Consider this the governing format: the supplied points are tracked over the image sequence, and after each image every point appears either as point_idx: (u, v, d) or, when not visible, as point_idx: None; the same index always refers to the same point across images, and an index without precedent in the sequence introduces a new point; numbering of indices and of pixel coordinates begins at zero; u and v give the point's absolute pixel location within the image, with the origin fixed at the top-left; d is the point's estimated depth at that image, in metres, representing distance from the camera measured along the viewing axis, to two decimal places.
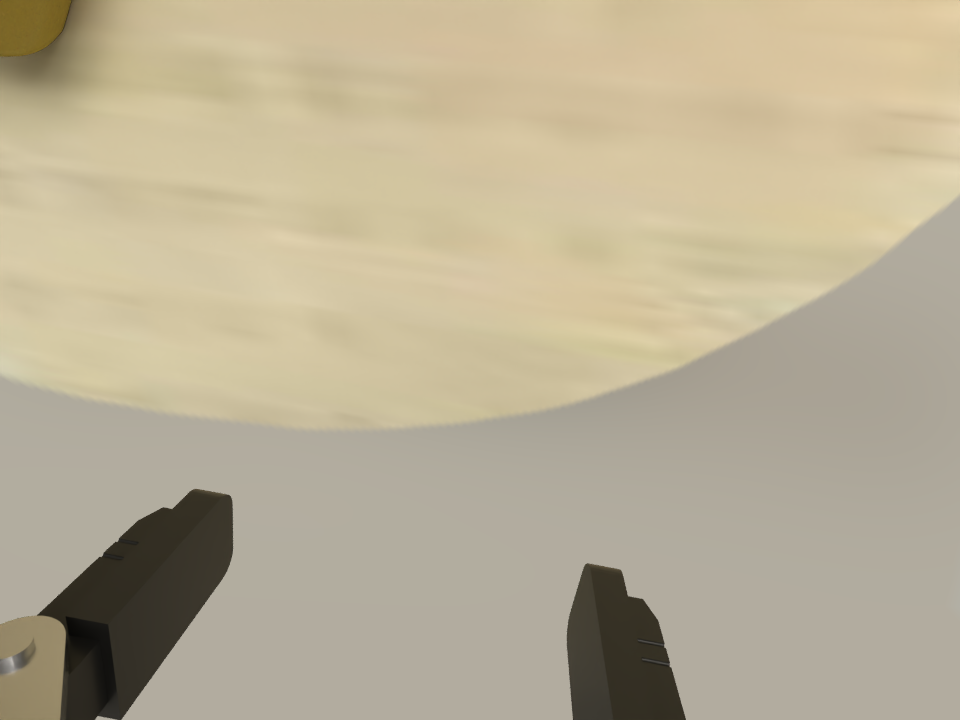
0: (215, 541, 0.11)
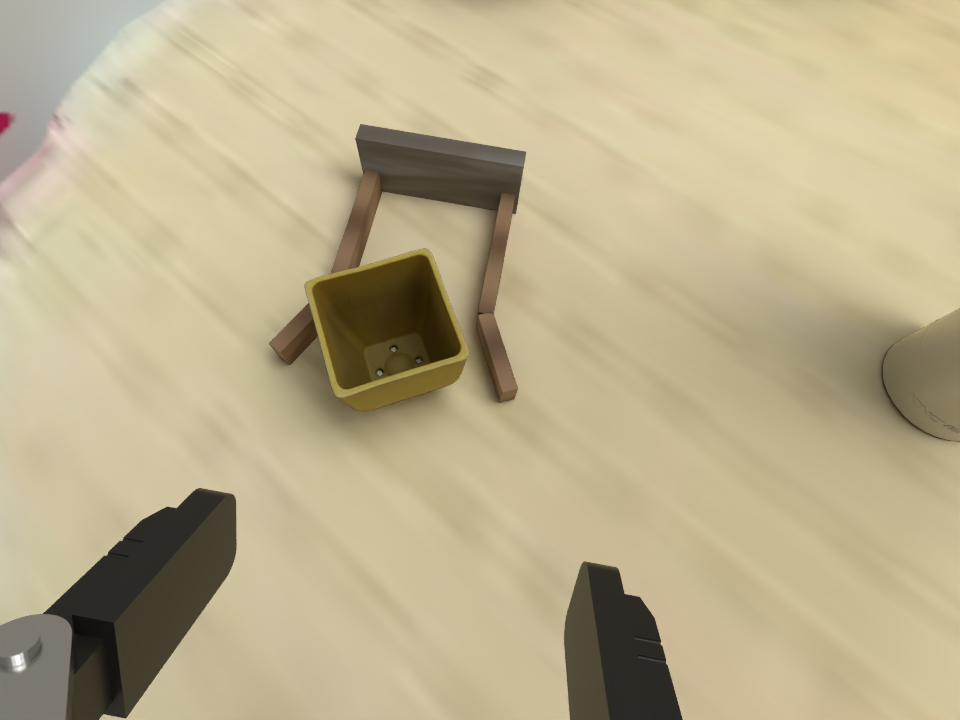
0: (219, 540, 0.11)
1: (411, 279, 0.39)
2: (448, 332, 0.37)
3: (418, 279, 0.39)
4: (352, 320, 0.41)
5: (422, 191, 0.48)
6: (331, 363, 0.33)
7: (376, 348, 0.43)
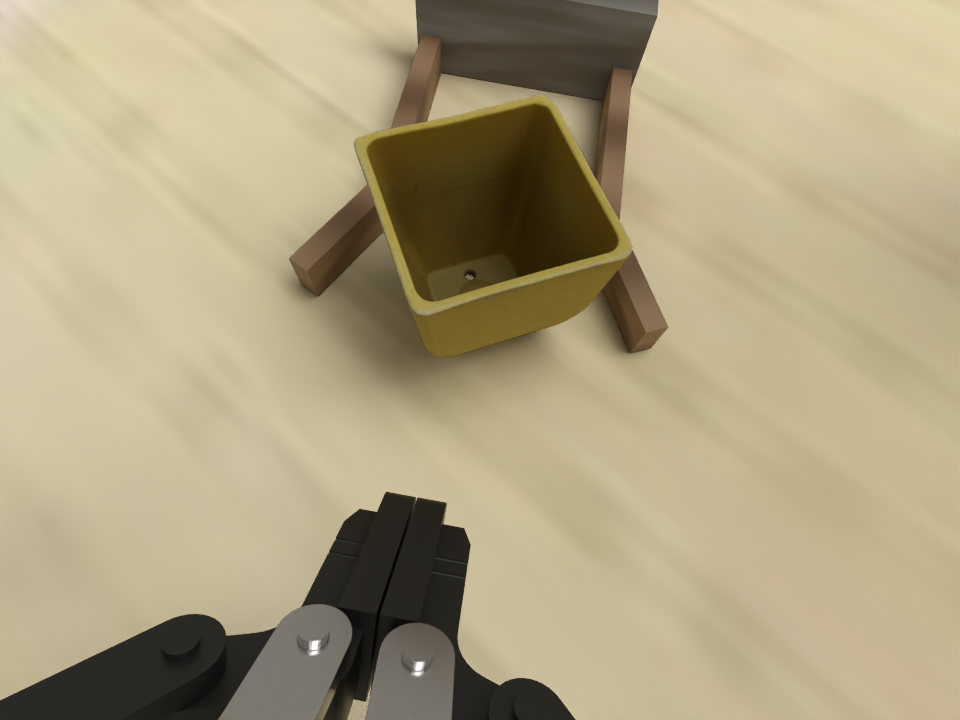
0: None
1: (511, 155, 0.25)
2: (579, 228, 0.23)
3: (521, 156, 0.25)
4: (415, 225, 0.27)
5: (498, 70, 0.35)
6: (404, 260, 0.20)
7: (445, 274, 0.29)
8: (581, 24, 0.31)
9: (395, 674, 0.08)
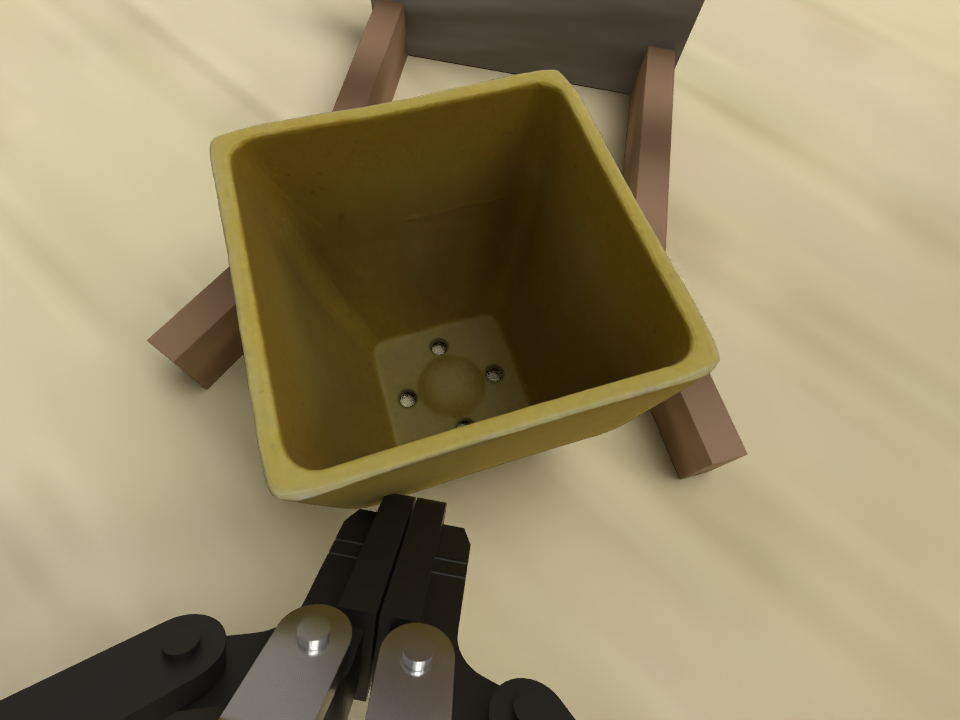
0: None
1: (499, 171, 0.15)
2: (610, 299, 0.13)
3: (516, 172, 0.16)
4: (349, 276, 0.17)
5: (486, 51, 0.25)
6: (268, 376, 0.10)
7: (401, 345, 0.20)
8: None
9: (395, 674, 0.08)
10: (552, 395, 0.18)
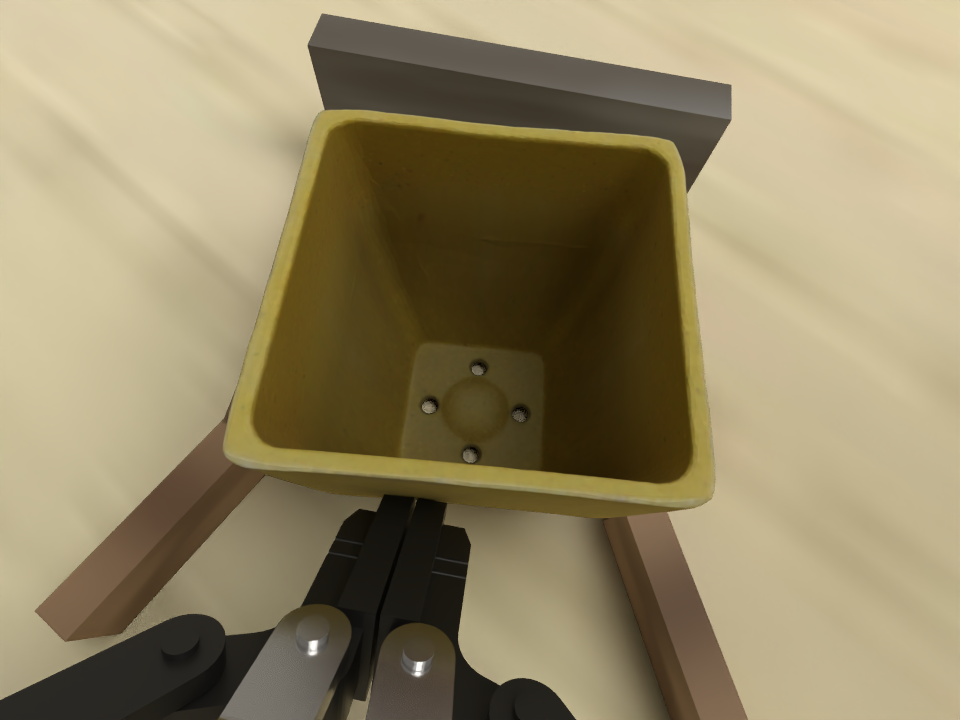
0: None
1: (587, 222, 0.15)
2: (640, 388, 0.12)
3: (603, 228, 0.15)
4: (415, 272, 0.17)
5: None
6: (269, 342, 0.10)
7: (444, 353, 0.20)
8: (597, 127, 0.18)
9: (395, 674, 0.08)
10: (564, 457, 0.17)
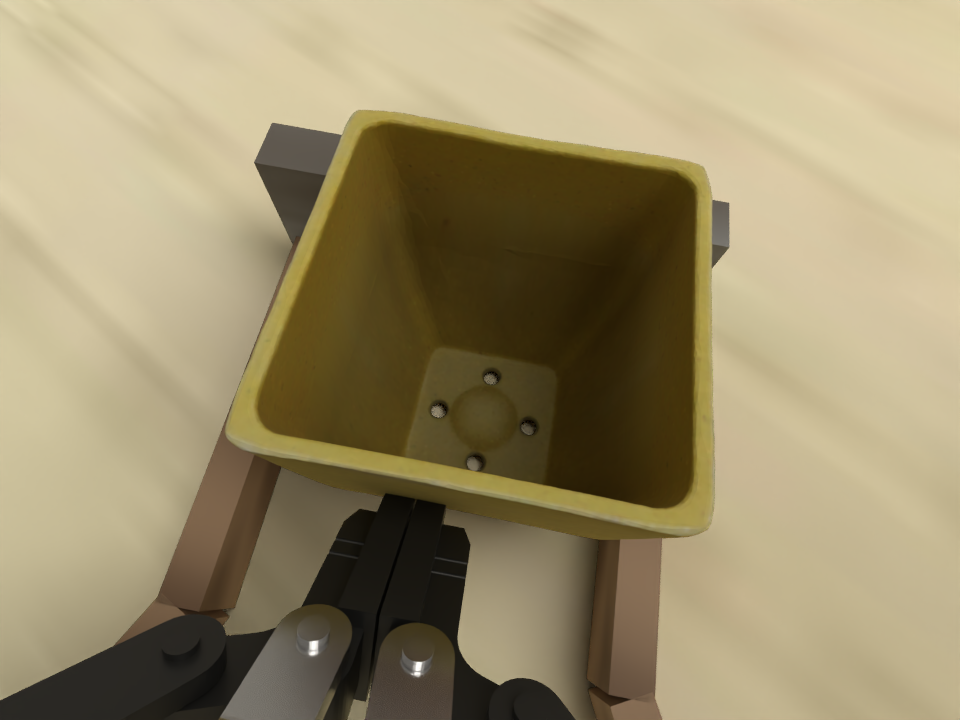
0: None
1: (611, 240, 0.15)
2: (648, 411, 0.12)
3: (627, 248, 0.15)
4: (437, 276, 0.18)
5: None
6: (281, 330, 0.10)
7: (458, 359, 0.20)
8: None
9: (395, 674, 0.08)
10: (568, 475, 0.17)
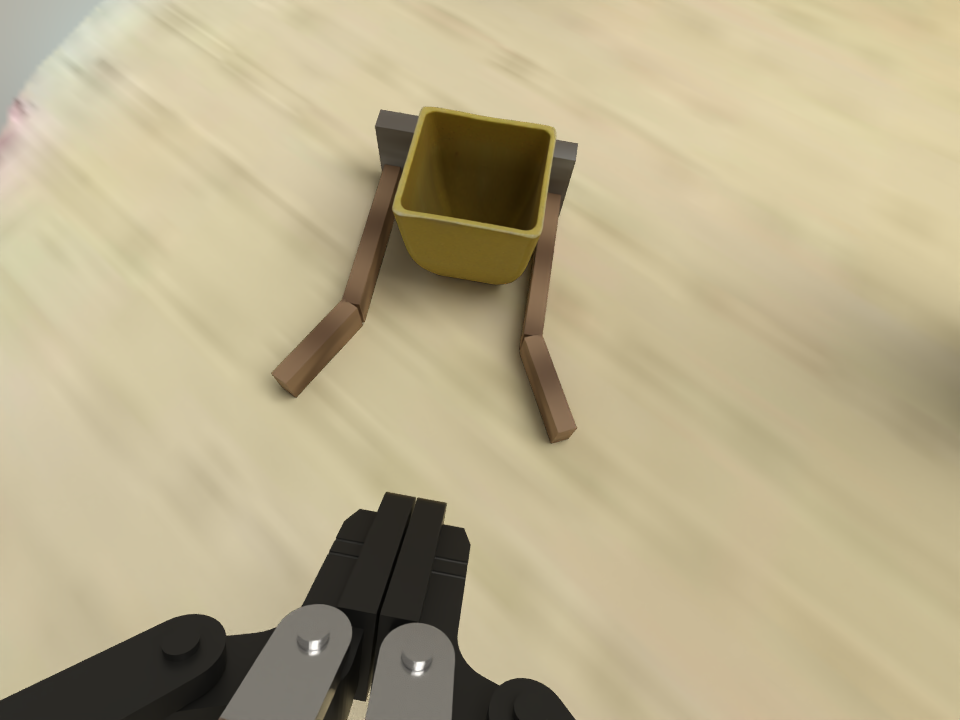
0: None
1: (525, 160, 0.36)
2: (533, 218, 0.34)
3: (532, 163, 0.36)
4: (451, 181, 0.39)
5: None
6: (405, 182, 0.32)
7: None
8: None
9: (395, 674, 0.08)
10: None
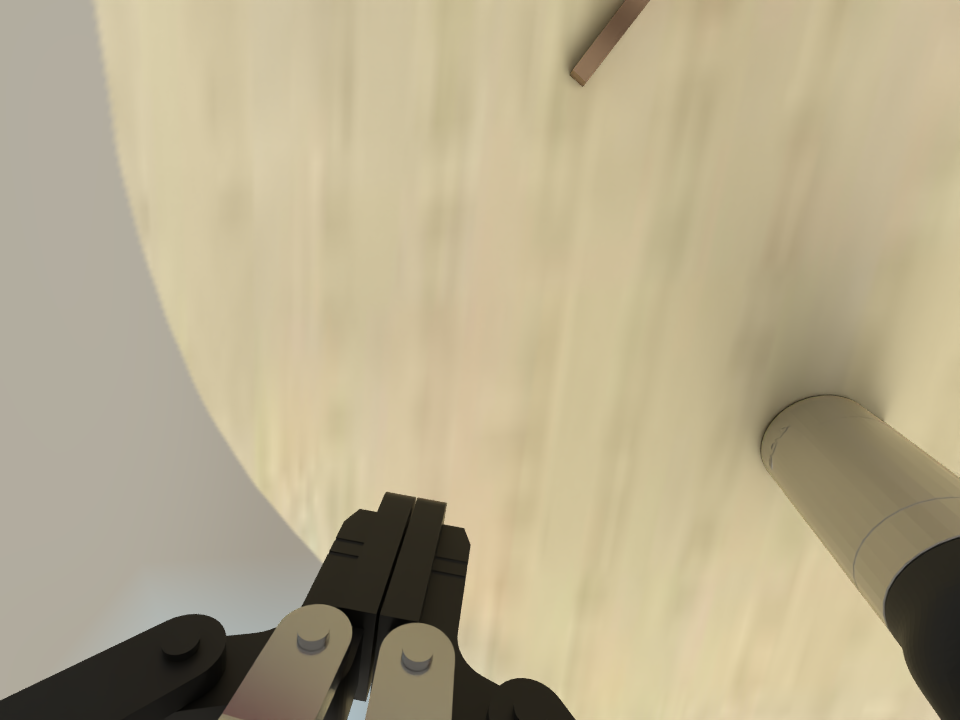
0: None
1: None
2: None
3: None
4: None
5: None
6: None
7: None
8: None
9: (395, 674, 0.08)
10: None
